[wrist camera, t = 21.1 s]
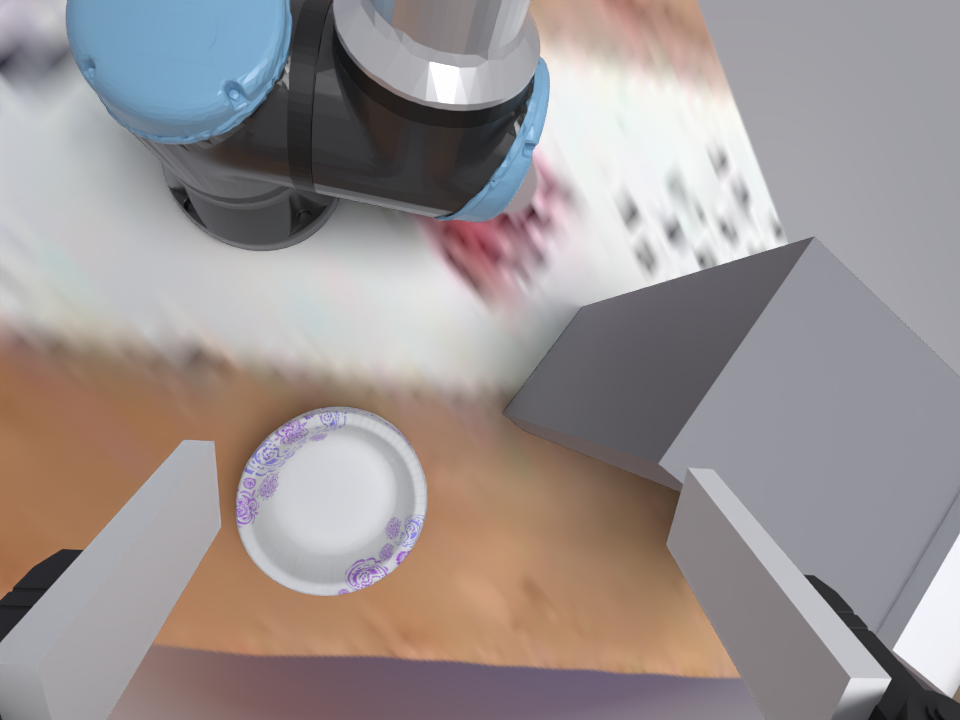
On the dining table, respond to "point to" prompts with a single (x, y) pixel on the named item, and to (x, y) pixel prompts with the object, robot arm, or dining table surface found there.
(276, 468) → the paper bowls
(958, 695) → the beech bar
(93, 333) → the dining table surface
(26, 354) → the dining table surface
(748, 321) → the scale shelf
